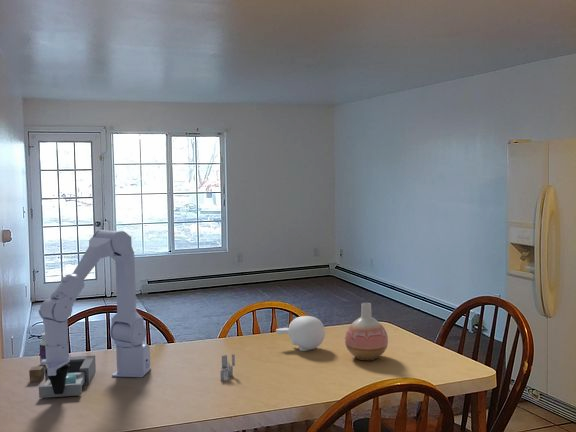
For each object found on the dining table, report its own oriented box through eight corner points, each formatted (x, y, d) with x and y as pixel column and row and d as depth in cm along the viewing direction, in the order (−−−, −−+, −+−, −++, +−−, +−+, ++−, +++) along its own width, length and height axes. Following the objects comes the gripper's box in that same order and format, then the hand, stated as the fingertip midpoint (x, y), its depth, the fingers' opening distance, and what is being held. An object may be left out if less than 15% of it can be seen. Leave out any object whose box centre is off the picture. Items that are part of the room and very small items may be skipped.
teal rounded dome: (71, 386, 168) (71, 380, 168) (51, 386, 168) (51, 380, 168) (79, 379, 174) (78, 373, 173) (59, 379, 174) (59, 373, 174)
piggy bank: (329, 355, 204) (296, 349, 215) (333, 319, 206) (301, 315, 217) (304, 352, 196) (271, 346, 206) (309, 315, 198) (277, 311, 209)
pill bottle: (52, 366, 191) (50, 335, 190) (36, 365, 192) (35, 335, 191) (62, 361, 196) (60, 331, 196) (46, 360, 197) (45, 330, 197)
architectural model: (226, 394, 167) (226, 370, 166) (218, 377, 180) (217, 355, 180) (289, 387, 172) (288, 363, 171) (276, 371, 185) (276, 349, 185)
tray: (88, 380, 177) (88, 369, 177) (81, 395, 165) (80, 384, 165) (49, 382, 175) (49, 372, 175) (39, 397, 164) (38, 386, 163)
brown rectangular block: (44, 377, 181) (43, 366, 180) (41, 381, 178) (40, 369, 177) (32, 378, 180) (32, 366, 180) (29, 382, 177) (29, 370, 177)
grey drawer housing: (95, 370, 186) (95, 355, 186) (89, 384, 174) (88, 368, 174) (55, 373, 184) (54, 357, 184) (45, 387, 173) (45, 370, 172)
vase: (339, 361, 192) (339, 306, 191) (351, 349, 205) (351, 297, 203) (382, 366, 187) (382, 310, 185) (392, 353, 200) (392, 300, 198)
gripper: (47, 336, 168) (49, 384, 170) (33, 352, 154) (36, 404, 155) (74, 335, 170) (76, 383, 171) (63, 350, 155) (65, 402, 156)
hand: (59, 393), depth 163 cm, fingers closed
